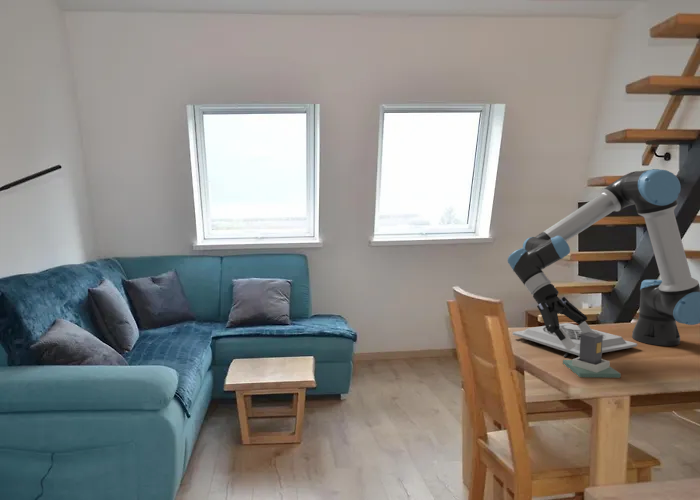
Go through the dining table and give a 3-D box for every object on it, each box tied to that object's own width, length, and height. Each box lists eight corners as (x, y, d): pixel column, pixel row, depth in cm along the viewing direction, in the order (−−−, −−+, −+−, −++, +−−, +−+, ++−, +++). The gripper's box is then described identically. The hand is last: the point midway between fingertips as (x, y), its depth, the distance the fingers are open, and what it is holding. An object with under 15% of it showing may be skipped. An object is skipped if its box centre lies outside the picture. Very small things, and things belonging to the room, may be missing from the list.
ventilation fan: (566, 314, 195) (639, 332, 168) (565, 330, 195) (638, 350, 169) (512, 321, 181) (582, 341, 155) (511, 337, 182) (581, 360, 155)
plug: (586, 362, 151) (588, 332, 150) (601, 367, 148) (603, 335, 147) (579, 365, 149) (580, 334, 148) (594, 370, 145) (595, 337, 144)
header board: (600, 363, 154) (601, 354, 154) (620, 377, 142) (621, 367, 142) (562, 363, 154) (563, 353, 154) (579, 377, 142) (580, 366, 142)
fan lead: (569, 350, 167) (569, 348, 167) (571, 351, 167) (571, 348, 167) (563, 357, 160) (563, 354, 160) (565, 357, 160) (565, 355, 160)
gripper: (554, 291, 169) (594, 343, 159) (511, 300, 155) (552, 358, 144) (570, 279, 165) (612, 331, 154) (527, 286, 150) (570, 345, 140)
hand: (583, 344), depth 149 cm, fingers open, 13 cm apart
